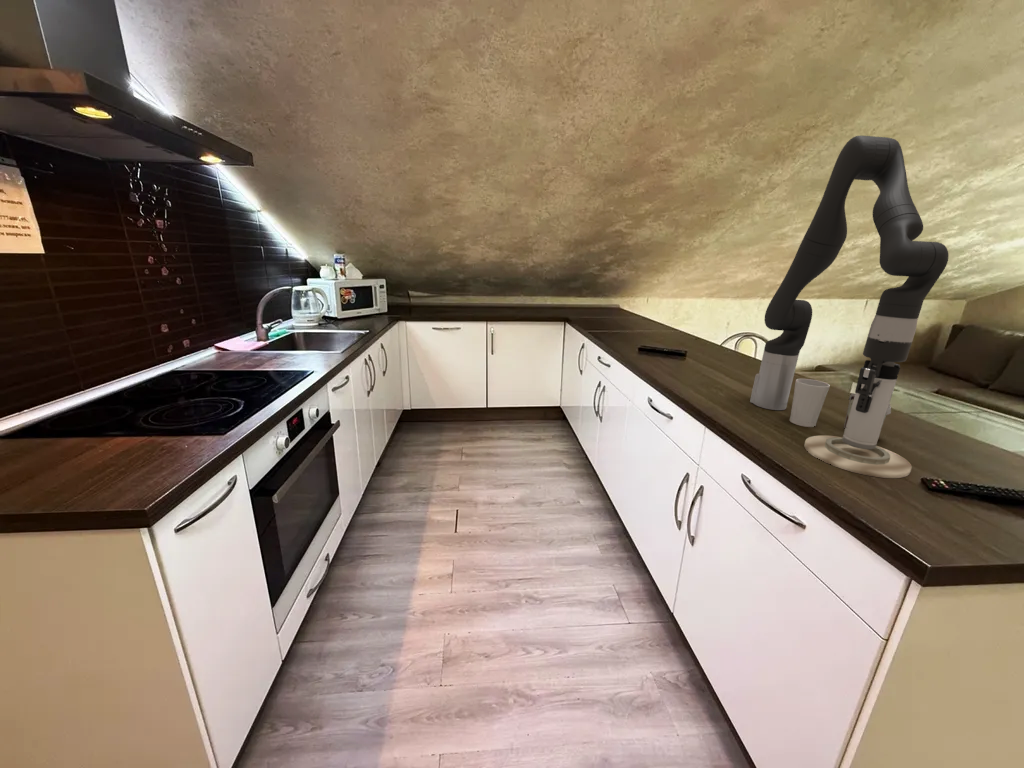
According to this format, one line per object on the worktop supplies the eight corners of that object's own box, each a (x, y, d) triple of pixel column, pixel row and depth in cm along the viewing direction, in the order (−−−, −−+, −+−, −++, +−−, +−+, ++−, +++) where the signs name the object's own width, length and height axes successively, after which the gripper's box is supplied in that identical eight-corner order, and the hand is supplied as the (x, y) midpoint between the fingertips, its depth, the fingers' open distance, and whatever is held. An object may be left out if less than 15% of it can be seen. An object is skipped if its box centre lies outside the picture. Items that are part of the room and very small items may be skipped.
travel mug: (834, 438, 104) (857, 357, 98) (859, 438, 105) (883, 358, 99) (855, 449, 98) (881, 364, 92) (882, 450, 99) (909, 365, 93)
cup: (821, 423, 124) (832, 383, 120) (816, 430, 118) (827, 388, 115) (789, 415, 129) (799, 377, 126) (783, 422, 123) (793, 381, 120)
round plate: (787, 448, 106) (790, 439, 105) (828, 434, 116) (830, 426, 115) (887, 486, 89) (891, 475, 89) (924, 466, 99) (928, 456, 99)
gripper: (883, 332, 101) (863, 400, 106) (854, 336, 94) (834, 408, 99) (924, 338, 95) (901, 410, 100) (897, 342, 88) (873, 420, 92)
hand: (868, 409), depth 99 cm, fingers closed on travel mug, 6 cm apart
